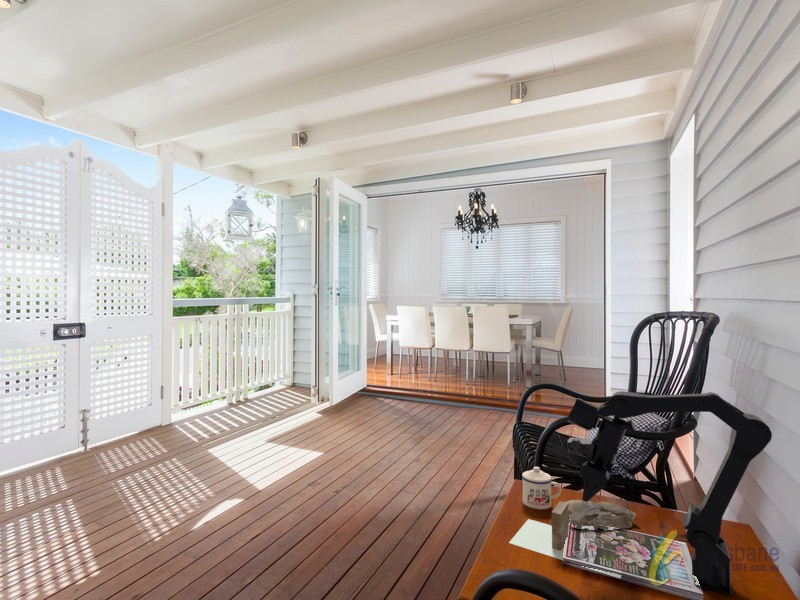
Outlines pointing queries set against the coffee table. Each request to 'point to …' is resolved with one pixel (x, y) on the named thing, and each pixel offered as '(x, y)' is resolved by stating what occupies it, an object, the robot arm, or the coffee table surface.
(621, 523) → the grey rock
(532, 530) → the sage mat
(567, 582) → the coffee table surface
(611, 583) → the coffee table surface
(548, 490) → the teacup with lid
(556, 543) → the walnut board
